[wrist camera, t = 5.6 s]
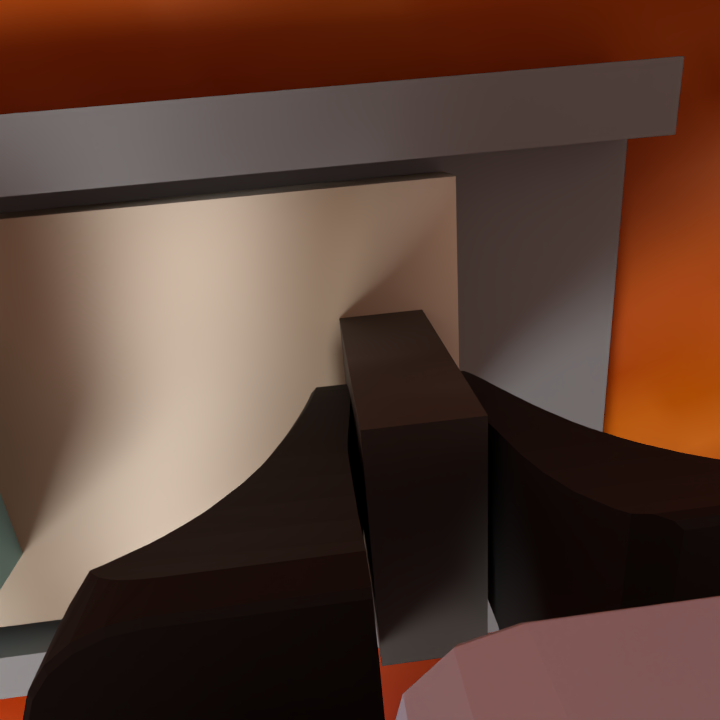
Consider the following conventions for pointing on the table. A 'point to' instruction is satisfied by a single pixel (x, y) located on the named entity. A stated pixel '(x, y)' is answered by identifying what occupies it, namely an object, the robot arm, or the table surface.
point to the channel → (393, 158)
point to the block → (7, 545)
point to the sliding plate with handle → (242, 383)
